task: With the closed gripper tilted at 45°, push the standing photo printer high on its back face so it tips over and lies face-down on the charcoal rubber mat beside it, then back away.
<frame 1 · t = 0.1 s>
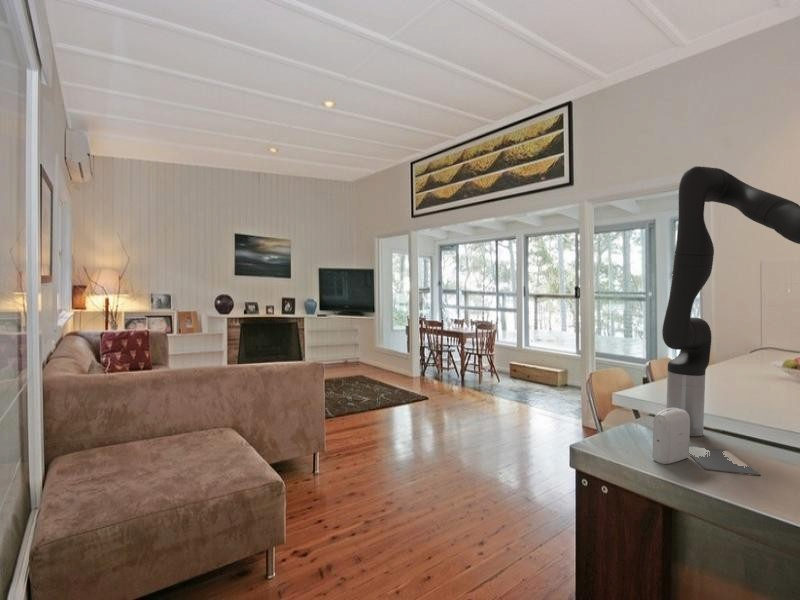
charcoal mat: (716, 459, 106), on the table
photo printer: (670, 460, 106), on the table
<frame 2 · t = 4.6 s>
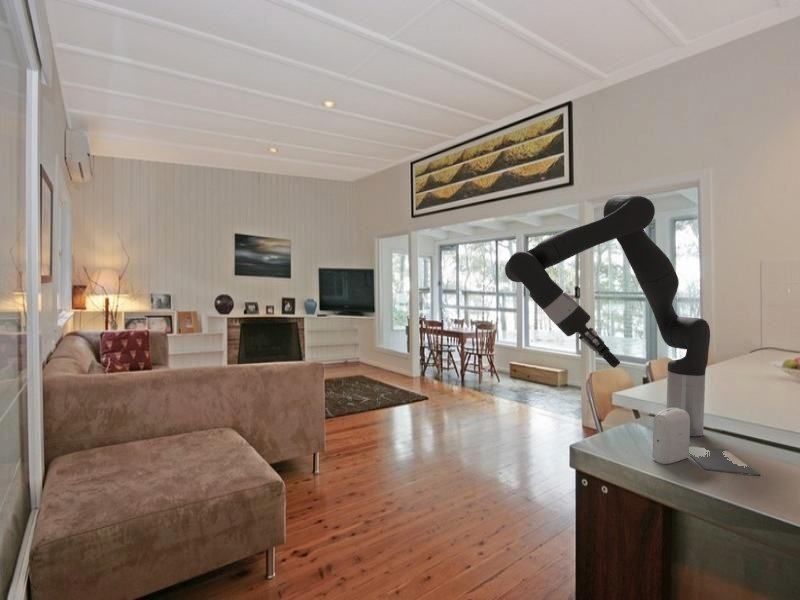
hand: (616, 364, 109), 22 cm above the table, tool tilted 45°, fingers closed
nothing on the table moved.
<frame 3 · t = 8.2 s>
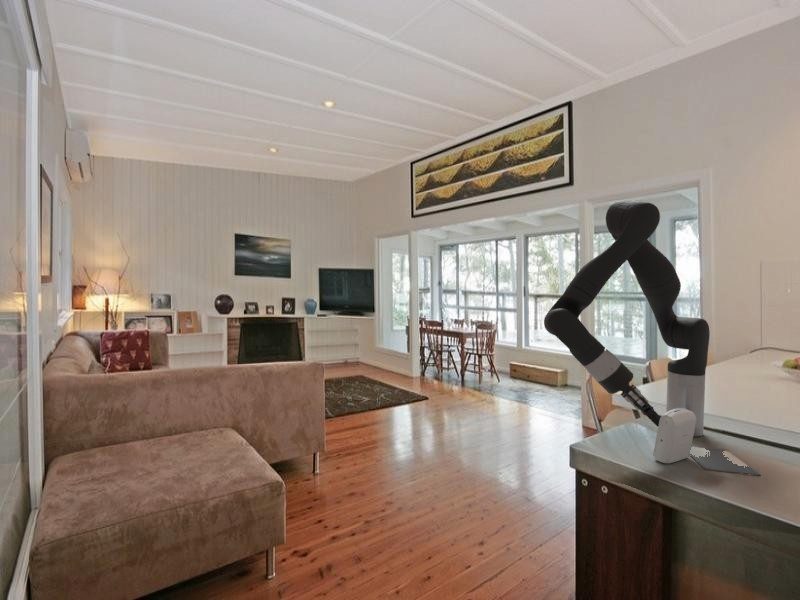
hand: (660, 423, 107), 8 cm above the table, tool tilted 45°, fingers closed
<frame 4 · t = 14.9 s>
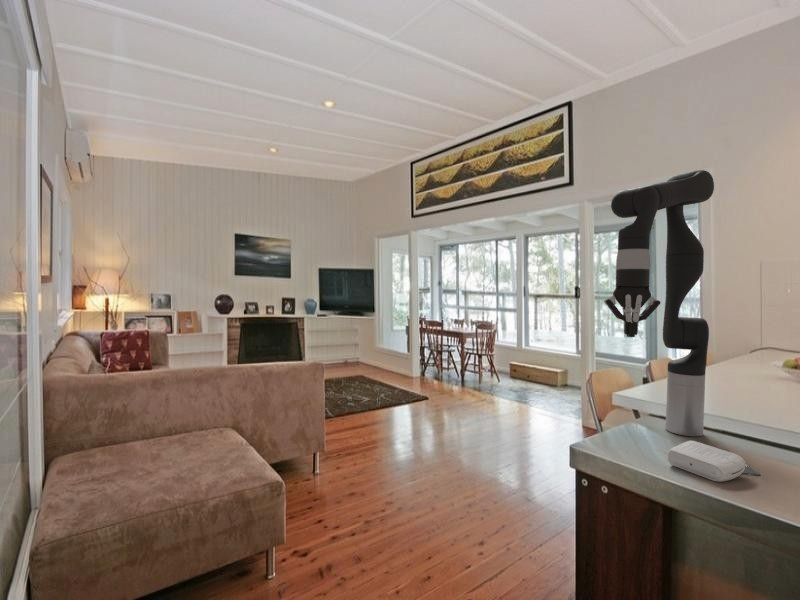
hand: (630, 336, 111), 29 cm above the table, tool pointing down, fingers closed
photo printer: (678, 451, 105), point 3 cm above the table, touching charcoal mat
at the end: photo printer tilted 91°; photo printer touching charcoal mat, table; photo printer inside the target area (6.9 cm from its centre), point 2.5 cm above the table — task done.
